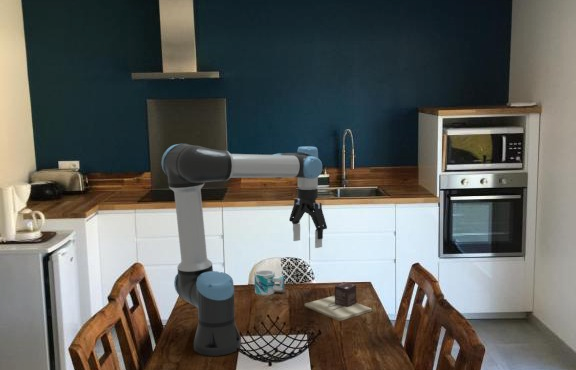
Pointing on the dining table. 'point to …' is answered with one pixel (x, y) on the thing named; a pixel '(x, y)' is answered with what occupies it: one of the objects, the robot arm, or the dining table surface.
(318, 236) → the robot arm
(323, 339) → the dining table surface
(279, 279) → the mug
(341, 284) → the box
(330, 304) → the board
